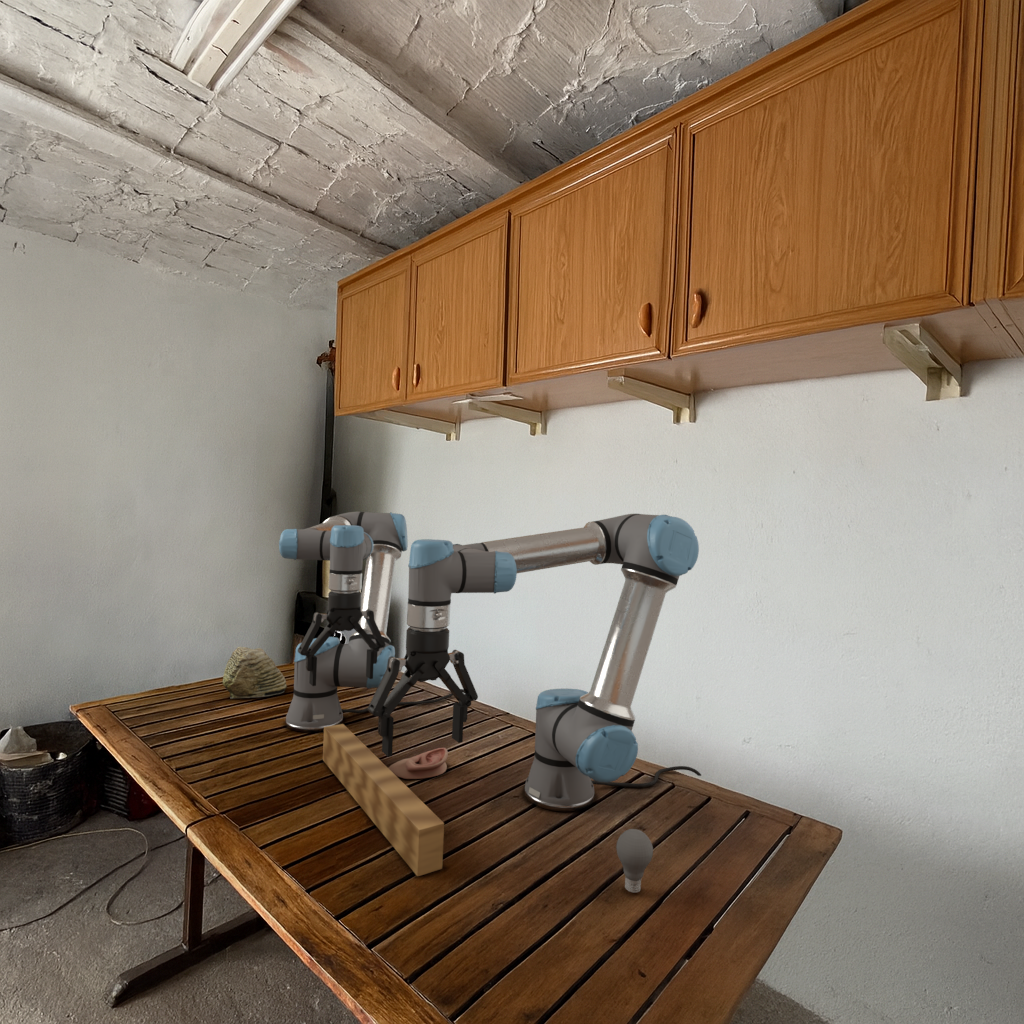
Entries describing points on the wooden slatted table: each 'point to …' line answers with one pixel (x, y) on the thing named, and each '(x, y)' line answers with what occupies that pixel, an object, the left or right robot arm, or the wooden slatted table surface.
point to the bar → (385, 800)
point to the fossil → (252, 674)
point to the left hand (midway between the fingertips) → (341, 681)
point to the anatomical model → (422, 765)
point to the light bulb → (634, 857)
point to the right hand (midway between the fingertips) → (423, 746)
